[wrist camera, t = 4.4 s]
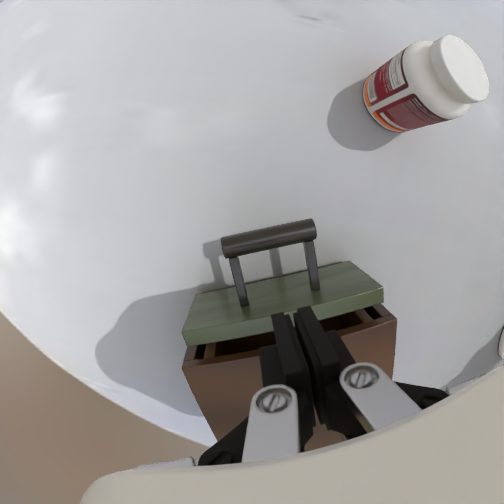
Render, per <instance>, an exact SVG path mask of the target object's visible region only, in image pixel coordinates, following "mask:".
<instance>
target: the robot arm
mask: <svg viewBox="0 0 504 504" xmlns="http://www.w3.org/2000/svg"><path fill="white" fill-rule="evenodd" d="M293 318H294V324H295V329H294V326H293V323H292V320H291V318H290V315H289V314H286V315H284V312H280V313H275V314H271V319H272V324H273V329H274V333H275V338H276V343H277V344H275V345H270V346H265V347H260V348H259V357H260V366H261V374H262V383H263V388H262V389H260V390H259V391H258V392H256V394H255V395H254V396H253V398H252V401H251V406H250V412H249V416H248V417H247V418H245V419H244V420H243V421H242V422H241V423H240V424H239V425H237V426H236V427H235V428H234V429H233V430H232V431H230V432H229V433H228V434H227V435H226V436H224V437H223V438H222V439H221V440H219V441H218V442H217V443H216V444H214V445H213V446H212V447H211V448H209V449H208V450H207V451H205V452H204V453H203V455H201V457H200V458H197V459H193V458H192V457H188V458H182V459H177V460H172V461H166V462H159V463H152V464H145V465H140V466H137V467H135V468H133V469H132V470H125V471H121V472H116V473H112V474H109V475H106V476H103V477H101V478H99V479H97V480H96V481H94V482H93V483H92V484H91V485H90V486H89V488H88V489H87V490H86V492H85V493H84V495H83V497H82V499H81V501H80V503H79V504H504V364H503V365H501V366H499V367H498V368H496V369H494V370H492V371H490V372H489V373H486V374H483V375H481V376H478V377H476V378H473V379H470V380H468V381H465V382H462V383H459V384H456V385H453V386H450V387H447V389H446V391H442V390H440V389H436V388H429V387H423V386H416V385H410V384H405V383H399V382H394V381H393V380H392V379H391V378H390V377H389V376H388V375H387V374H386V373H385V372H384V371H383V370H382V369H381V368H380V367H378V366H377V365H375V364H372V363H367V362H361V363H356V362H355V360H354V358H353V357H352V355H351V353H350V352H349V350H348V348H347V347H346V345H345V344H344V342H343V340H342V339H341V337H340V335H339V334H338V332H337V331H336V330H332V331H328V332H324V330H323V328H322V326H321V324H320V323H319V321H318V319H317V317H316V315H315V314H314V312H313V310H312V308H311V306H306V307H301V308H297V312H295V313H293ZM295 330H296V331H295ZM498 351H499V355H500V356H501V357H502V358H503V359H504V329H503V332H502V335H501V338H500V342H499V349H498ZM314 407H315V410H316V414H317V417H318V420H319V423H320V425H323V424H326V427H327V430H328V431H330V430H333V431H336V432H339V433H340V436H341V439H342V441H343V442H340V443H337V444H333V445H330V446H326V447H323V448H319V449H315V450H311V451H307V452H306V446H305V444H306V443H307V442H308V441H309V439H310V438H311V437H312V436H313V435H314V434H313V427H315V426H316V420H315V411H314Z"/></svg>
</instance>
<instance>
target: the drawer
mask: <svg viewBox="0 0 504 504" xmlns="http://www.w3.org/2000/svg"><path fill="white" fill-rule="evenodd" d="M316 237H317V233H316V227H315V224H314V221H313V220H312V219H311V218H310V219H306V220H301V221H296V222H291V223H286V224H281V225H277V226H272V227H267V228H263V229H258V230H253V231H249V232H244V233H239V234H235V235H230V236H226V237H222V238H221V245H222V250H223V254H224V257H225V258H226V259H227V258H229V262H230V266H231V270H232V274H233V278H234V282H235V286H236V287H231V288H226V289H221V290H216V291H211V292H206V293H201V294H196V296H195V298H194V301H193V304H192V306H191V309H190V311H189V314H188V317H187V319H186V322H185V325H184V327H183V330H182V334H183V337H184V340H185V342H186V345H187V346H195V345H201V344H206V349H205V354H204V359H205V358H212V357H218V356H224V355H230V354H236V353H242V352H247V351H253V350H258V349H259V348H260V347H265V346H270V345H275V344H277V343H276V338H275V333H274V329H273V324H272V319H271V314H275V313H280V312H284V315H286V314H289V315H290V318H291V320H292V323H293V326H294V329H295V324H294V318H293V313H295V312H297V308H301V307H306V306H311V308H312V310H313V312H314V314H315V315H316V317H317V319H318V321H319V323H320V324H321V326H322V328H323V330H324V332H328V331H332V330H336V331H338V330H342V329H345V328H349V327H352V326H356V325H359V324H362V323H366V322H369V321H372V320H373V319H372V318H371V317H370V316H369V315H368V314H367V313H366V311H365V310H364V309H363V308H366V307H370V306H373V305H376V304H379V303H383V301H384V298H383V286H382V285H380V284H379V283H378V282H376V281H375V280H374V279H373V278H371V277H370V276H369V275H368V274H366V273H365V272H364V271H362V270H361V269H360V268H359V267H357V266H356V265H355V264H353V263H352V262H351V261H347V262H343V263H339V264H335V265H330V266H326V267H322V268H317V261H316V254H315V248H314V241H313V240H315V239H316ZM301 242H303V244H304V250H305V256H306V263H307V269H308V271H305V272H300V273H296V274H291V275H287V276H282V277H278V278H273V279H269V280H264V281H260V282H255V283H250V284H245V283H244V279H243V275H242V271H241V266H240V262H239V258H238V256H241V255H246V254H250V253H255V252H259V251H264V250H269V249H273V248H278V247H283V246H287V245H292V244H296V243H301ZM295 331H296V330H295Z"/></svg>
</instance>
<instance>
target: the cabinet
mask: <svg viewBox="0 0 504 504" xmlns="http://www.w3.org/2000/svg"><path fill="white" fill-rule="evenodd" d="M363 309H364V310H365V311H366V313H367V314H368V315H369V316H370V317H371V318H372V319H373V320H372V321H369V322H366V323H362V324H359V325H356V326H352V327H349V328H345V329H342V330H338V331H337V332H338V334H339V335H340V337H341V339H342V340H343V342H344V344H345V345H346V347H347V348H348V350H349V352H350V353H351V355H352V357H353V358H354V360H355V362H356V363H361V362H367V363H372V364H375V365H377V366H378V367H380V368H381V369H382V370H383V371H384V372H385V373H386V374H387V375H388V376H389V377H390V378H391V379H392V375H393V367H394V356H395V344H396V328H397V318H396V317H395V316H393V315H392V314H391V313H390V312H389V311H388V310H387V309H386V308H385V307H384V306H383V305H382V304H381V303H379V304H376V305H373V306H370V307H366V308H363ZM205 349H206V344H201V345H195V346H188V347H187V351H186V354H185V357H184V362H183V365H182V370H183V373H184V375H185V377H186V379H187V381H188V384H189V386H190V388H191V390H192V392H193V394H194V396H195V398H196V400H197V402H198V404H199V406H200V408H201V410H202V412H203V414H204V416H205V418H206V420H207V422H208V424H209V426H210V428H211V430H212V432H213V433H214V435H215V437H216V439H217V441H219V440H221V439H222V438H223V437H224V436H226V435H227V434H228V433H229V432H230V431H232V430H233V429H234V428H235V427H236V426H237V425H239V424H240V423H241V422H242V421H243V420H244V419H245V418H247V417H248V416H249V412H250V406H251V401H252V398H253V396H254V395H255V394H256V392H258V391H259V390H260V389H262V388H263V383H262V374H261V366H260V357H259V349H258V350H253V351H247V352H242V353H236V354H230V355H224V356H218V357H212V358H205V359H204V354H205ZM314 411H315V420H316V426H315V427H313V434H314V435H313V436H312V437H311V438H310V439H309V441H308V442H307V443H306V444H305V446H306V452H307V451H311V450H315V449H319V448H323V447H326V446H330V445H333V444H337V443H340V442H343V441H342V439H341V436H340V433H339V432H336V431H333V430H330V431H328V430H327V427H326V424H323V425H320V423H319V420H318V417H317V414H316V410H315V407H314Z"/></svg>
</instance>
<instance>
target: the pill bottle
mask: <svg viewBox="0 0 504 504" xmlns="http://www.w3.org/2000/svg"><path fill="white" fill-rule="evenodd" d="M488 92H489V83H488V78H487V74H486V71H485V69H484V67H483V65H482V63H481V61H480V59H479V58H478V56H477V55H476V53H475V52H474V51H473V50H472V49H471V48H470V47H469V46H468V45H467V44H466V43H465V42H464V41H462V40H461V39H459V38H457V37H455V36H452V35H446V36H444V37H442V38H440V39H438V40H436V41H434V42H432V41H427V40H421V41H417V42H414V43H413V44H411V45H409V46H408V47H407V48H405V49H404V50H403V51H401V52H400V53H398V54H397V55H396V56H394V57H393V58H392V59H390V60H389V61H388V62H386V63H385V64H384V65H382V66H381V67H380V68H379V69H377V70H376V71H375V72H373V73H372V74H371V75H370V76H369V77H368V78H367V80H366V82H365V84H364V88H363V98H364V102H365V105H366V107H367V109H368V111H369V113H370V114H371V116H372V117H373V118H374V119H375V120H376V121H377V122H378V123H379V124H380V125H382V126H383V127H385V128H386V129H389V130H391V131H395V132H404V131H409V130H412V129H416V128H420V127H423V126H427V125H431V124H435V123H439V122H443V121H448V120H452V119H456V118H459V117H461V116H463V115H464V114H465V113H466V112H467V111H468V109H469V107H470V104H471V103H476V102H480V101H483V100H484V99H486V97H487V95H488Z"/></svg>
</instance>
